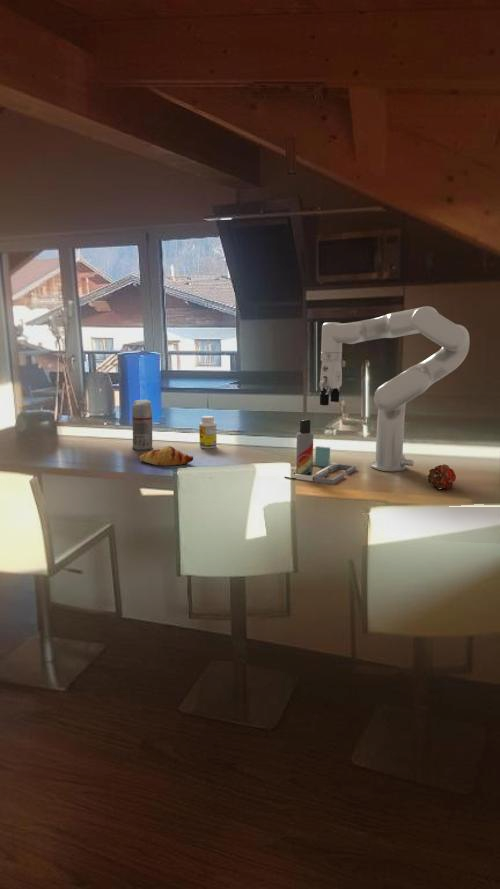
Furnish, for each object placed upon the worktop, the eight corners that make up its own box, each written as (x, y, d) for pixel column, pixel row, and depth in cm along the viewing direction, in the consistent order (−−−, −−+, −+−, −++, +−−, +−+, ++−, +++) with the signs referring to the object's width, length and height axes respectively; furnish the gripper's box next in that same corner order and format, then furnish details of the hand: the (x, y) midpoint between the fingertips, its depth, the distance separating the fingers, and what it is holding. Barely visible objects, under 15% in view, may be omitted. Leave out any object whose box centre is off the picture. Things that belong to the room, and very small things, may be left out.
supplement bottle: (198, 445, 281) (198, 415, 279) (215, 445, 283) (215, 414, 280) (200, 449, 275) (200, 418, 272) (217, 448, 276) (217, 417, 273)
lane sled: (336, 467, 245) (337, 448, 244) (312, 481, 226) (312, 460, 225) (310, 463, 250) (310, 445, 249) (284, 477, 231) (284, 457, 230)
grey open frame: (355, 469, 242) (356, 465, 241) (333, 484, 223) (333, 479, 222) (337, 467, 245) (337, 463, 245) (313, 481, 226) (313, 477, 226)
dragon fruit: (436, 497, 213) (439, 493, 224) (460, 484, 210) (462, 480, 222) (421, 474, 214) (425, 471, 226) (445, 461, 212) (448, 458, 223)
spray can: (157, 447, 277) (156, 399, 273) (144, 451, 270) (142, 402, 266) (142, 445, 282) (140, 398, 277) (128, 449, 275) (126, 400, 271)
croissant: (137, 472, 252) (132, 456, 246) (145, 455, 259) (140, 439, 254) (191, 474, 247) (188, 458, 242) (198, 456, 255) (194, 440, 250)
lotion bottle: (307, 479, 229) (309, 421, 225) (293, 476, 232) (294, 419, 228) (315, 475, 234) (316, 418, 230) (300, 473, 237) (301, 417, 233)
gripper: (331, 359, 235) (329, 407, 239) (349, 355, 250) (347, 401, 254) (311, 357, 239) (310, 405, 243) (331, 354, 254) (329, 399, 257)
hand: (329, 403), depth 248 cm, fingers open, 9 cm apart
